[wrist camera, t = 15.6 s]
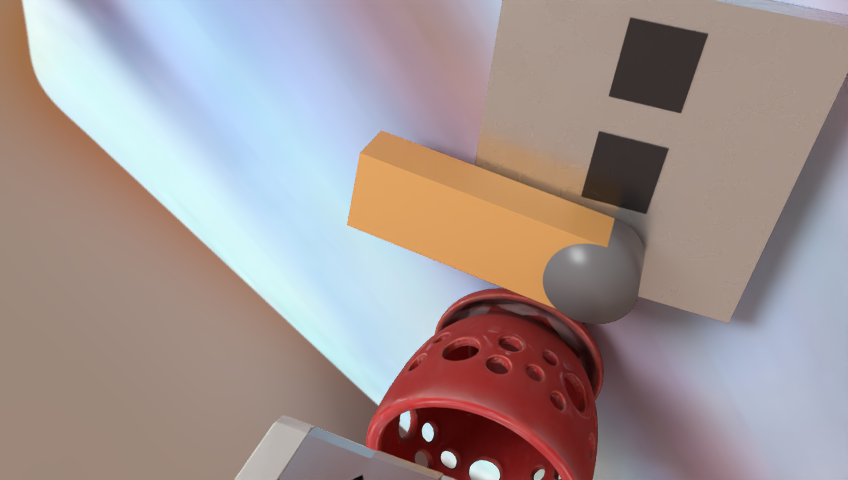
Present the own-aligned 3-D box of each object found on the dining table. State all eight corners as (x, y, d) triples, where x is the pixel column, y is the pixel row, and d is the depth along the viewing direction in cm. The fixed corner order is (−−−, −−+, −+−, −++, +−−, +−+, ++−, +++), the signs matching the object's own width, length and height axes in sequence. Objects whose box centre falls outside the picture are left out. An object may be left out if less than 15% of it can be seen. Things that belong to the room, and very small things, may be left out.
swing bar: (381, 130, 41) (357, 155, 39) (659, 234, 39) (653, 268, 36) (367, 200, 44) (345, 227, 42) (624, 301, 42) (617, 337, 39)
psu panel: (861, 17, 32) (868, 31, 31) (728, 302, 42) (728, 324, 41) (519, -50, 36) (508, -41, 34) (470, 227, 46) (461, 244, 44)
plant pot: (432, 251, 48) (358, 370, 39) (632, 297, 44) (604, 441, 35) (426, 389, 55) (363, 517, 46) (597, 438, 52) (566, 588, 42)
